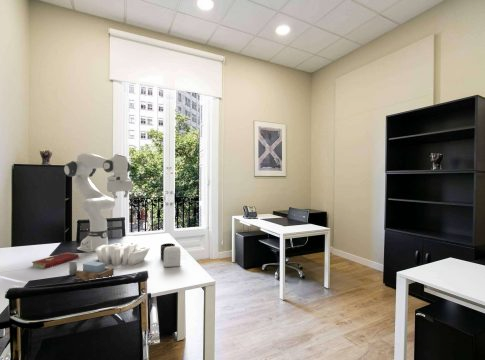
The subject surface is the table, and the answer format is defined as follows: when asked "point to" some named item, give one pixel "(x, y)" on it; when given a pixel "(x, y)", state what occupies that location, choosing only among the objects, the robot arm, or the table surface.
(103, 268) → the tethered block
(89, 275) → the wooden tray
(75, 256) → the hardcover book
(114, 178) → the robot arm
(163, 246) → the mug
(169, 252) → the photo printer
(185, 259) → the table surface
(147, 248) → the wavy white extrusion
